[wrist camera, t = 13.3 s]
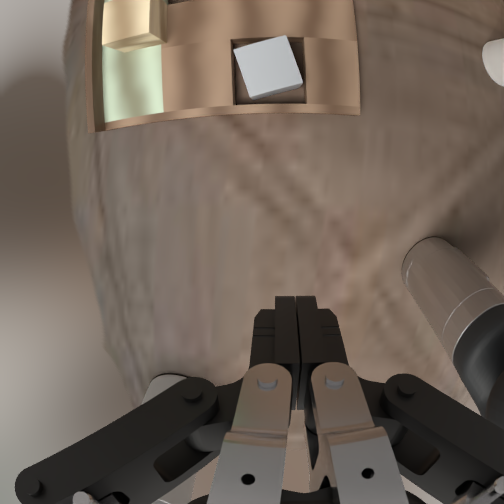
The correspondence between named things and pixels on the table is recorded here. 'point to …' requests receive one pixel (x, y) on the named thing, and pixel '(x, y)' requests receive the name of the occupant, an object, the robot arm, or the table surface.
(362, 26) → the table surface
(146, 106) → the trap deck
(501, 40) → the cylindrical container
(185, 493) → the cylinder vase
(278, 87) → the trapped grey cube
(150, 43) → the maple cube
